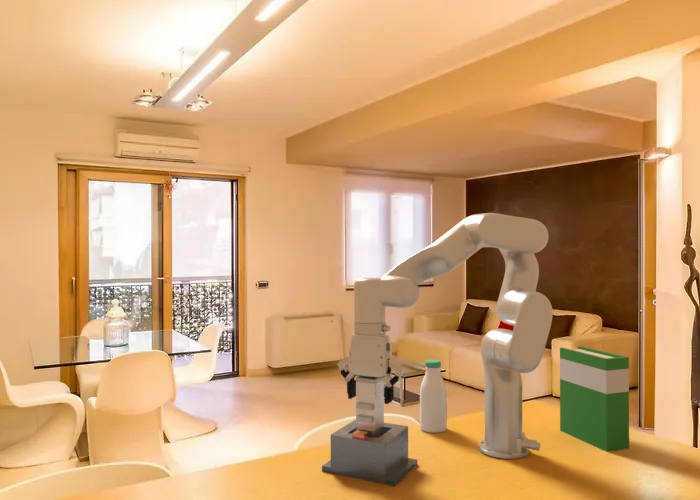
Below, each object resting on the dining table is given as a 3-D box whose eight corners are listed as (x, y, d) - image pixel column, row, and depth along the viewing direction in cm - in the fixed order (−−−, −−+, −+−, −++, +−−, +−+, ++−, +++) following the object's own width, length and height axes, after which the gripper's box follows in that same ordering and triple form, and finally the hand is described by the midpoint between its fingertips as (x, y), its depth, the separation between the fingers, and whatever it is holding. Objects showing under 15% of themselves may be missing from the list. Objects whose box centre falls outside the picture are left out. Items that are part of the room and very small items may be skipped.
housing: (417, 464, 135) (417, 423, 135) (394, 486, 123) (394, 441, 123) (349, 451, 144) (349, 413, 144) (321, 470, 132) (321, 428, 132)
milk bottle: (446, 434, 157) (445, 363, 157) (418, 432, 159) (418, 363, 159) (447, 425, 165) (446, 358, 165) (421, 424, 166) (420, 357, 166)
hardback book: (560, 430, 160) (559, 347, 160) (581, 427, 162) (580, 346, 162) (606, 451, 143) (606, 359, 143) (629, 448, 145) (628, 357, 145)
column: (384, 465, 134) (383, 375, 134) (373, 474, 129) (373, 380, 129) (365, 462, 137) (365, 373, 137) (354, 470, 132) (354, 378, 132)
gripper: (409, 329, 133) (409, 400, 133) (345, 325, 141) (345, 392, 141) (396, 333, 126) (397, 408, 126) (330, 328, 134) (331, 399, 134)
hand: (370, 400), depth 133 cm, fingers open, 9 cm apart
